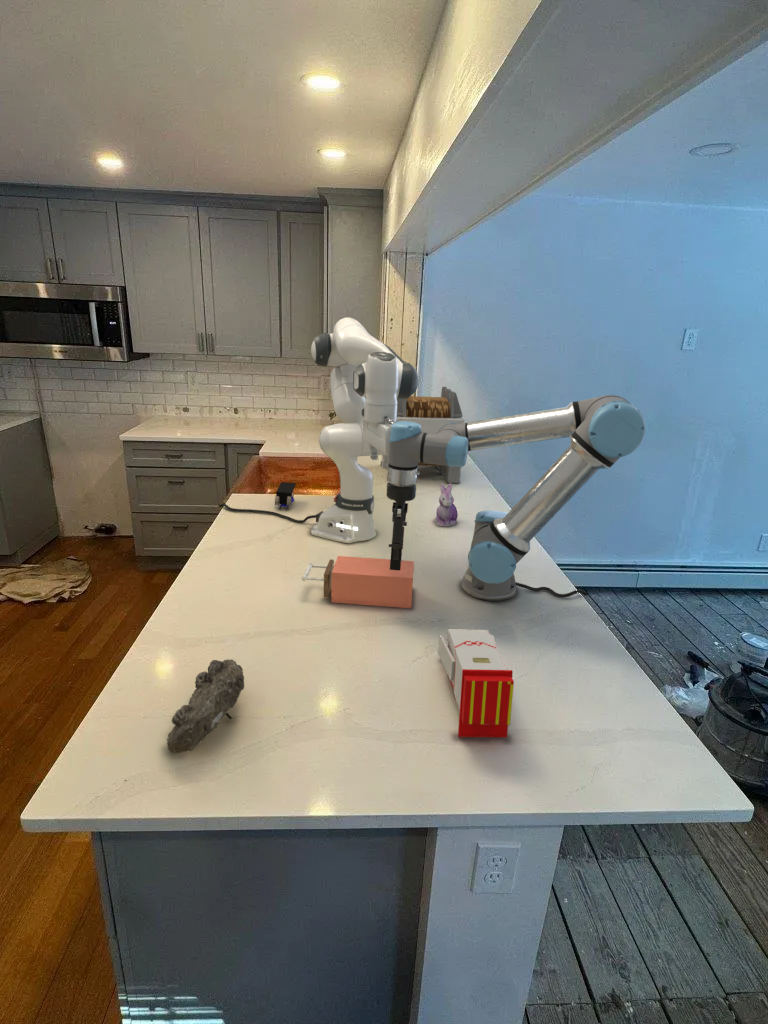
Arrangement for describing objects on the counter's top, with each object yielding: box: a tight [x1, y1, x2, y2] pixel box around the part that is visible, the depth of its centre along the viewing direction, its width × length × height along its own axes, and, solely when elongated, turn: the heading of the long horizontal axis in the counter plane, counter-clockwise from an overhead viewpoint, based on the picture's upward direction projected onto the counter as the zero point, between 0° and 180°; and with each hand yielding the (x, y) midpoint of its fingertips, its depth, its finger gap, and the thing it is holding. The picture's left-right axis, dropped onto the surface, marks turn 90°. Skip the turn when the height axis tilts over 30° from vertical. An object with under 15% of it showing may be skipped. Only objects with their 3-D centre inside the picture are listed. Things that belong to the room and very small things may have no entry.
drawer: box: [301, 559, 335, 599], centre depth 155 cm, size 26×10×7 cm, turn 86°
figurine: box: [434, 483, 459, 527], centre depth 210 cm, size 9×10×15 cm
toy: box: [437, 628, 515, 738], centre depth 117 cm, size 12×13×30 cm
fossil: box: [166, 658, 245, 754], centre depth 106 cm, size 22×10×15 cm
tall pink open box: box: [330, 555, 415, 609], centre depth 155 cm, size 21×11×9 cm, turn 86°
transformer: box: [393, 386, 465, 484], centre depth 268 cm, size 34×33×41 cm
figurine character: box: [274, 481, 297, 510], centre depth 222 cm, size 7×8×15 cm
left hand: (379, 463), depth 159 cm, fingers open, 8 cm apart
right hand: (396, 558), depth 152 cm, fingers open, 13 cm apart
